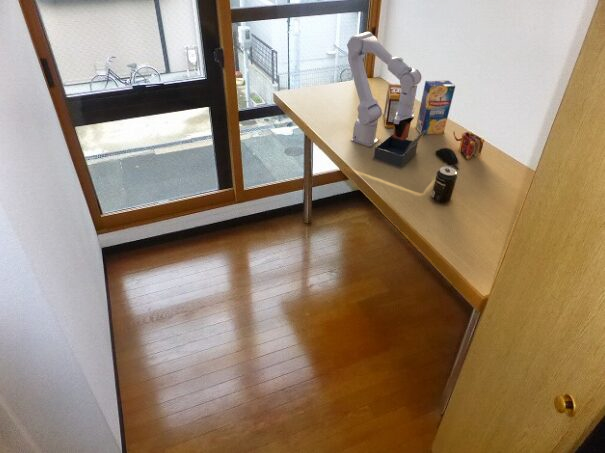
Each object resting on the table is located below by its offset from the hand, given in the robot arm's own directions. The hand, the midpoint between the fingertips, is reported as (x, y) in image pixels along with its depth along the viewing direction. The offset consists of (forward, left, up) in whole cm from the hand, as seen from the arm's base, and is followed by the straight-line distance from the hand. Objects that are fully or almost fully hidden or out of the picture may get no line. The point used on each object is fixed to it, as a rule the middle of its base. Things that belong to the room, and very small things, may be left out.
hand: (400, 134), depth 174 cm
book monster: (+23, +17, -9) cm, 29 cm away
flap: (+7, -3, 0) cm, 8 cm away
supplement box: (-14, +29, -9) cm, 33 cm away
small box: (0, 0, -1) cm, 1 cm away
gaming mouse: (+20, +8, -9) cm, 23 cm away
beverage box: (+3, +30, -9) cm, 31 cm away
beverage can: (+28, -22, -9) cm, 37 cm away
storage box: (+1, -3, -9) cm, 9 cm away
